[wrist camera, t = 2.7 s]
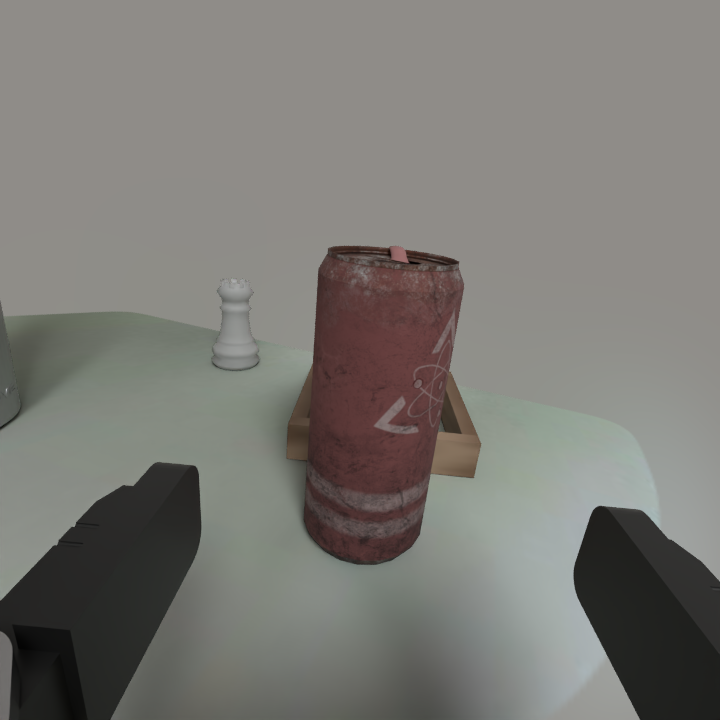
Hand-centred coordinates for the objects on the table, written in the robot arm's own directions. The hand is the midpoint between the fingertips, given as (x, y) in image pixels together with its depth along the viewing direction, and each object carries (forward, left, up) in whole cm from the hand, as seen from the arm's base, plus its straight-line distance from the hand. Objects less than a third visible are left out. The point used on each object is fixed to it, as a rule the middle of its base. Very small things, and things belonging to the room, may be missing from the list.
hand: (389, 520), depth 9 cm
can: (0, +11, -10) cm, 15 cm away
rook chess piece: (-13, +31, -10) cm, 35 cm away
